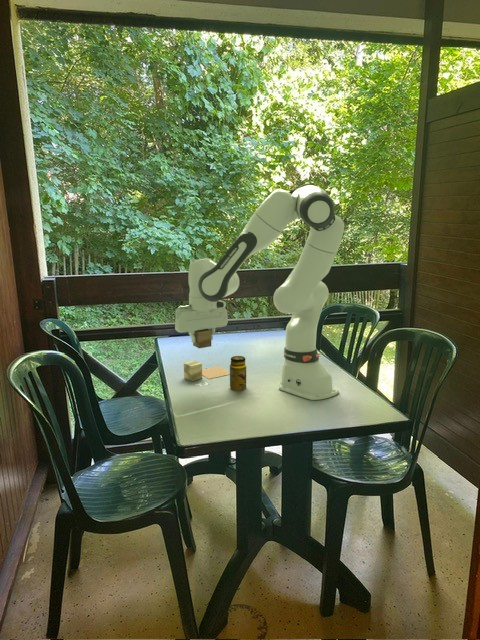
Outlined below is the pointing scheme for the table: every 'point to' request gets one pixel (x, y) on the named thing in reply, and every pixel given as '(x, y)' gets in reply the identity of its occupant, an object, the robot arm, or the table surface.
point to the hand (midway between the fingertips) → (202, 341)
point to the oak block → (192, 370)
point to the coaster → (214, 372)
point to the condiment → (238, 373)
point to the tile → (201, 385)
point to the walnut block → (202, 338)
